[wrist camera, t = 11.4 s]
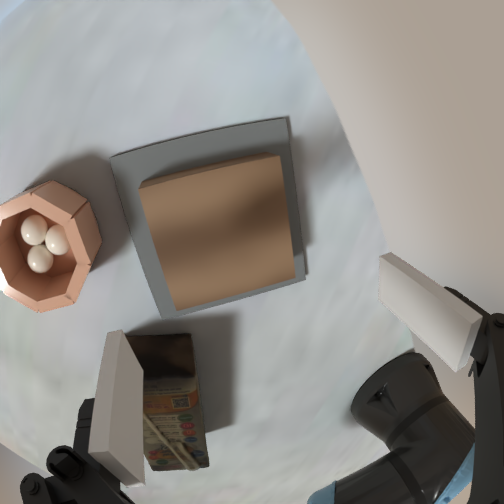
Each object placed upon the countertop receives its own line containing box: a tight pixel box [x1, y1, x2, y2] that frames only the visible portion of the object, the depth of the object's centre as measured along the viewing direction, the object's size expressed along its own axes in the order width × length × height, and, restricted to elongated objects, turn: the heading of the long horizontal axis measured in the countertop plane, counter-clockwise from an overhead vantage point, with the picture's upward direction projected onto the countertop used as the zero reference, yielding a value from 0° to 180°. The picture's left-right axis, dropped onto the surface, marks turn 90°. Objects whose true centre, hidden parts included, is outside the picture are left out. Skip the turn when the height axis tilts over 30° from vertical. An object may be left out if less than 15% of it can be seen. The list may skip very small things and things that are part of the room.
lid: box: [138, 152, 296, 311], centre depth 24 cm, size 10×10×3 cm
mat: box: [109, 118, 306, 320], centre depth 25 cm, size 15×14×1 cm
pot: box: [0, 181, 102, 313], centre depth 20 cm, size 9×9×5 cm
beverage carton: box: [125, 334, 209, 471], centre depth 29 cm, size 8×19×7 cm, turn 178°
